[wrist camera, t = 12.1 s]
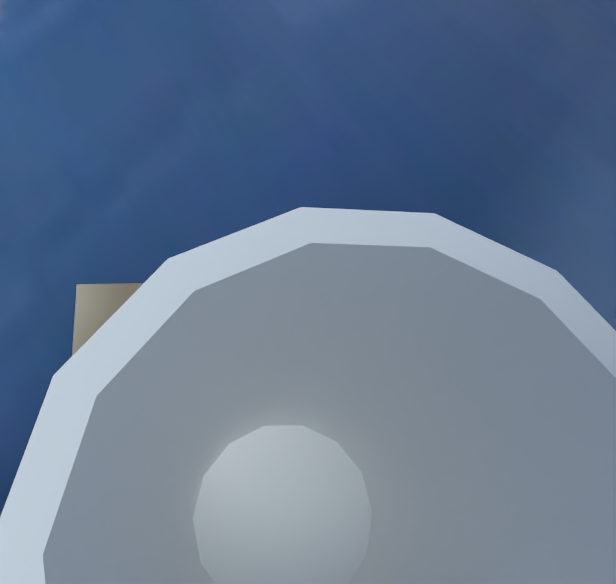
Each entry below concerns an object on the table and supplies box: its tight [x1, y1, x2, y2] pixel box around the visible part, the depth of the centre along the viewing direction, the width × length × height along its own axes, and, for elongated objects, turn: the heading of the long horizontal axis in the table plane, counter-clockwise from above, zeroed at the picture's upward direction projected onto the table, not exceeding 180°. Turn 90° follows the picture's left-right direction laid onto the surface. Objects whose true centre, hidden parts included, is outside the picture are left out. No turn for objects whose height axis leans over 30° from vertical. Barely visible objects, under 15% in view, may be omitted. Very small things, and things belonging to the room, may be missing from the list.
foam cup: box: [0, 207, 616, 584], centre depth 13 cm, size 10×9×13 cm
